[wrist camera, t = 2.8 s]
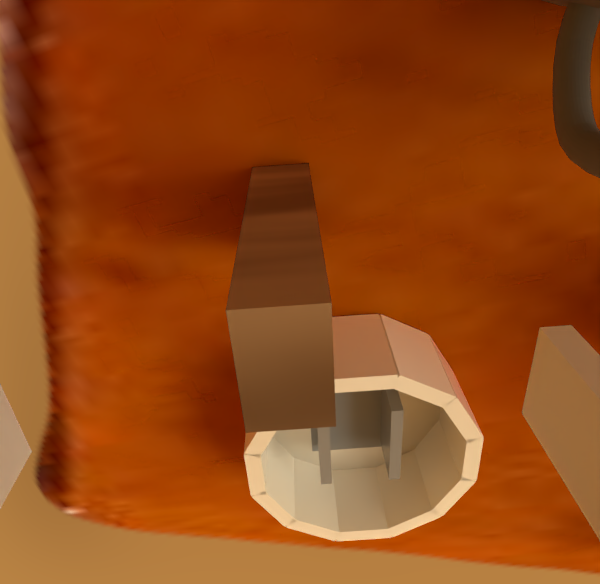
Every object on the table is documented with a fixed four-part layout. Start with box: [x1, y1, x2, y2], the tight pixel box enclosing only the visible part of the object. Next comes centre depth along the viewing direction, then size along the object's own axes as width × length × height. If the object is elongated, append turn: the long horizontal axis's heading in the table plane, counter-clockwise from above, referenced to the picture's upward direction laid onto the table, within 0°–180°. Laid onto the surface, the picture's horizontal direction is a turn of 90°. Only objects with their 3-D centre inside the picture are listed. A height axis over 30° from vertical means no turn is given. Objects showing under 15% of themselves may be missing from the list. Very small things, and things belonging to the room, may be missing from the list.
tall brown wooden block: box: [226, 163, 336, 433], centre depth 18 cm, size 4×2×12 cm, turn 3°
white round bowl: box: [244, 314, 484, 541], centre depth 27 cm, size 12×12×5 cm
